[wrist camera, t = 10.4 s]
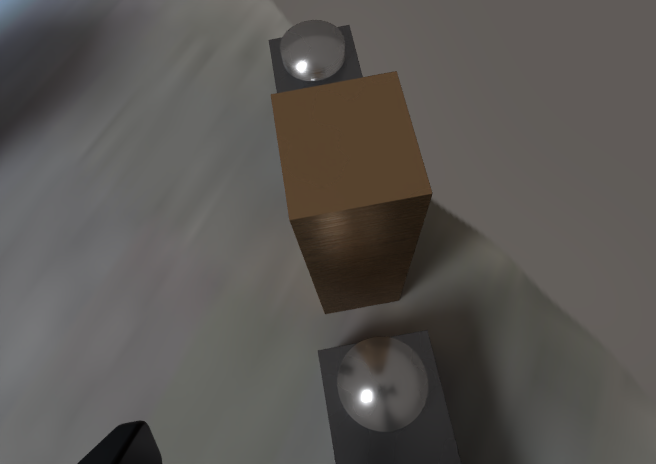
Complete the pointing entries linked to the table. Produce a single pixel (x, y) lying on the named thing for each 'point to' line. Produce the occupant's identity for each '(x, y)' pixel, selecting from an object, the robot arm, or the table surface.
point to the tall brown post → (352, 186)
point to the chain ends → (377, 352)
